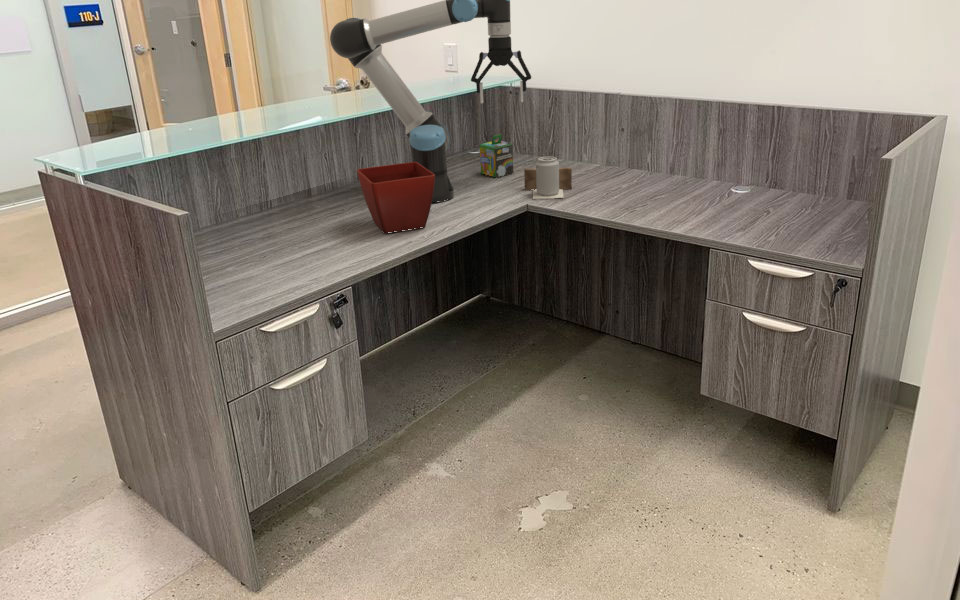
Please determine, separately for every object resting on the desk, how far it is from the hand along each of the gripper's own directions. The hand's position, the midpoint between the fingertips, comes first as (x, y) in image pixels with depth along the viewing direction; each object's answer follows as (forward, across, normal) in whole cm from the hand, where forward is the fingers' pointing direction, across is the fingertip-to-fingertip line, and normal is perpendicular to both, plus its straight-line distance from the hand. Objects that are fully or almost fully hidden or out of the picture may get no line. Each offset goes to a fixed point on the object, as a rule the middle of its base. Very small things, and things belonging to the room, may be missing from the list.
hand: (501, 102), depth 258 cm
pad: (+29, +15, -15) cm, 36 cm away
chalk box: (+29, -4, +16) cm, 33 cm away
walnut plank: (+29, +15, -7) cm, 33 cm away
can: (+28, +15, -15) cm, 35 cm away
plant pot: (+29, -30, -45) cm, 61 cm away
